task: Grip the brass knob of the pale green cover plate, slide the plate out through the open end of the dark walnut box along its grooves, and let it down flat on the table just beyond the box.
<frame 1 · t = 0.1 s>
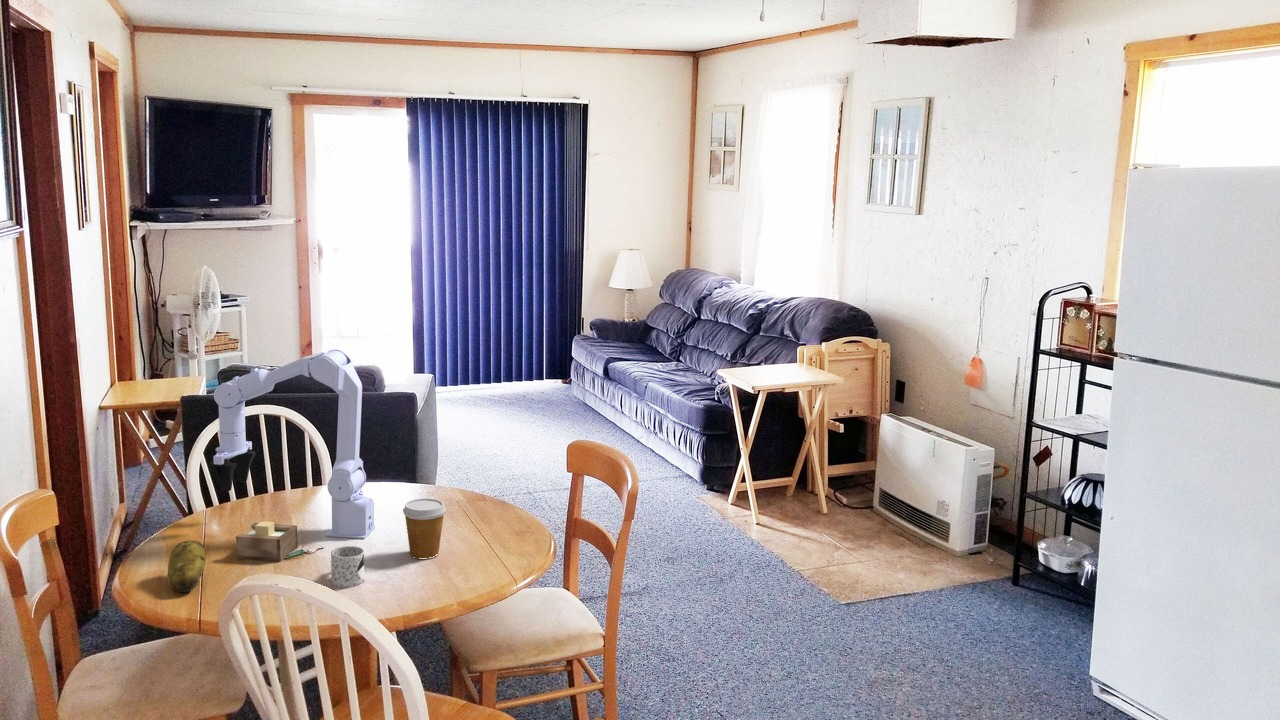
hand: (234, 485, 232), 10 cm above the table, tool pointing down, fingers open, 7 cm apart
potato: (186, 584, 199), on the table
mug: (347, 579, 205), on the table
cover plate: (265, 540, 216), point 3 cm above the table, touching walnut box
walnut box: (267, 552, 217), on the table
disposable coffee cup: (424, 555, 220), on the table
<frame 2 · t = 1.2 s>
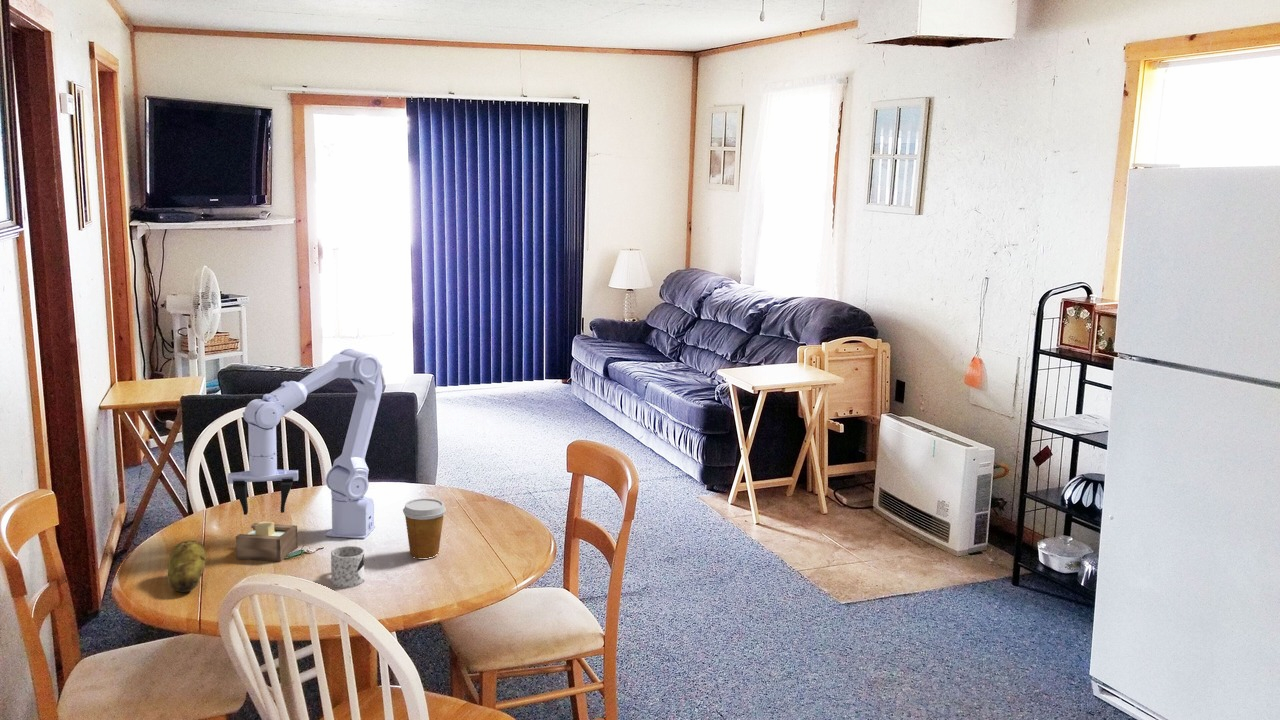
hand: (264, 512, 215), 10 cm above the table, tool pointing down, fingers open, 7 cm apart
nothing on the table moved.
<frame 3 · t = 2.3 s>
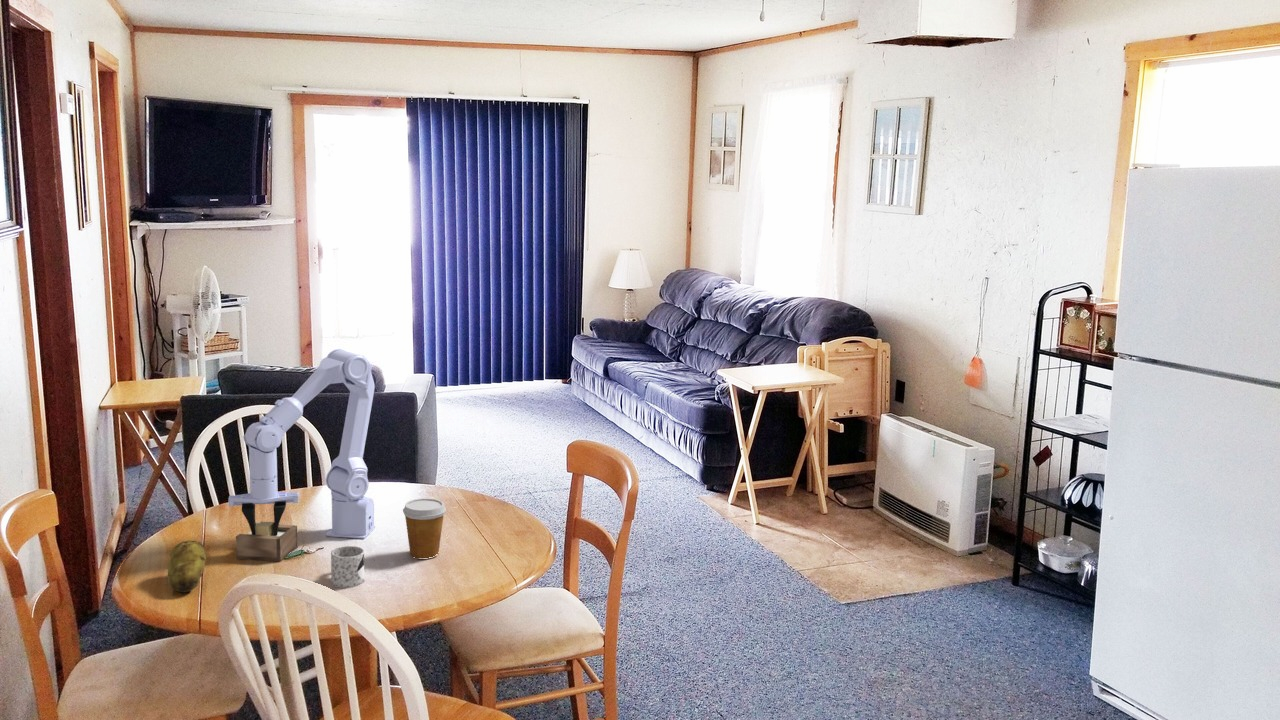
hand: (265, 534, 216), 4 cm above the table, tool pointing down, fingers closed on cover plate, 4 cm apart
cover plate: (265, 540, 216), point 3 cm above the table, touching gripper, walnut box
everything else where it was.
when the fingers open (4 cm above the table, at t = 3.8 s): cover plate stays where it is, resting on walnut box.
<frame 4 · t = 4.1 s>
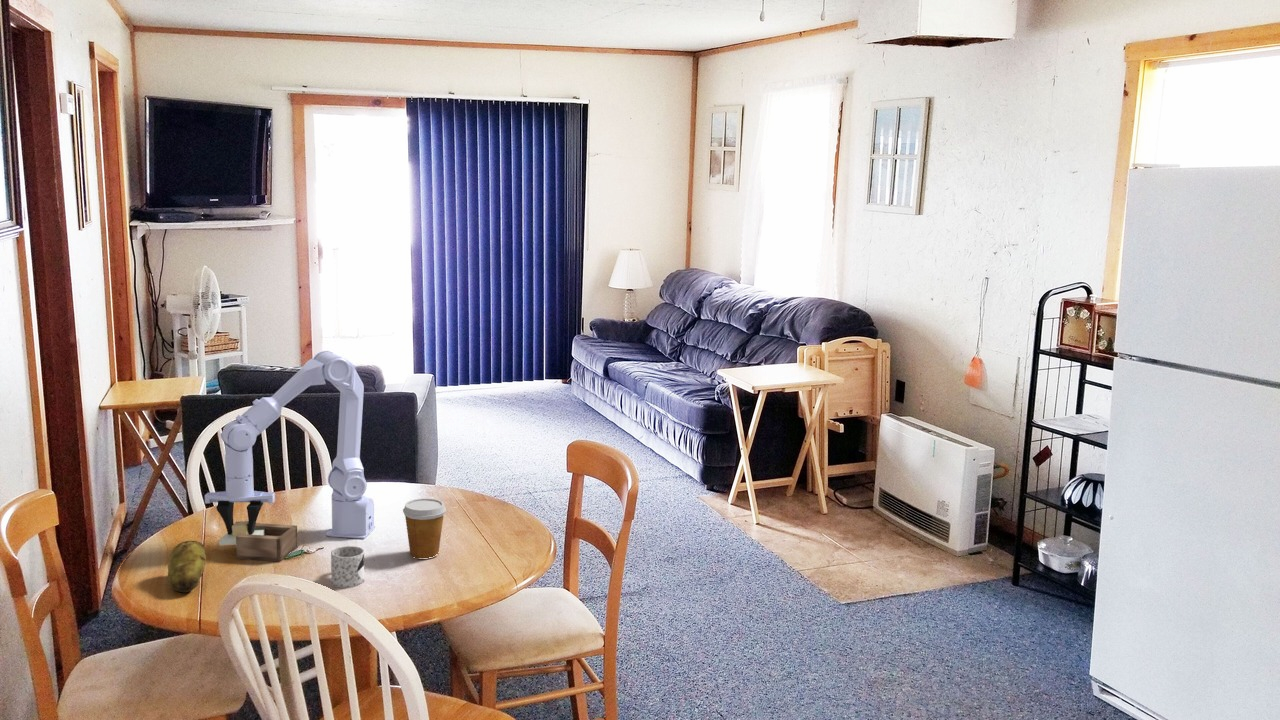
hand: (241, 533, 216), 4 cm above the table, tool pointing down, fingers open, 4 cm apart
cover plate: (242, 539, 216), point 3 cm above the table, touching gripper, walnut box
everything else where it was.
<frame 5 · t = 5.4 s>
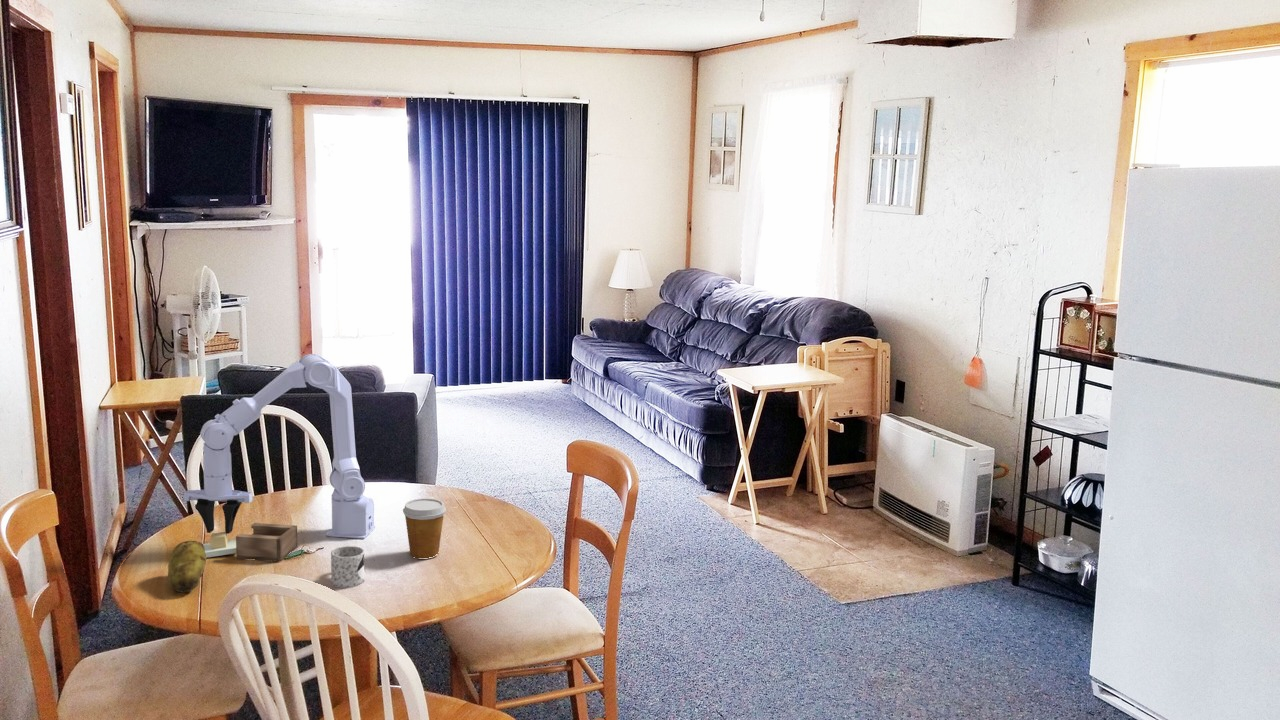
hand: (219, 531, 217), 4 cm above the table, tool pointing down, fingers open, 4 cm apart
cover plate: (220, 550, 216), on the table, tilted 6°, touching gripper
everything else where it was.
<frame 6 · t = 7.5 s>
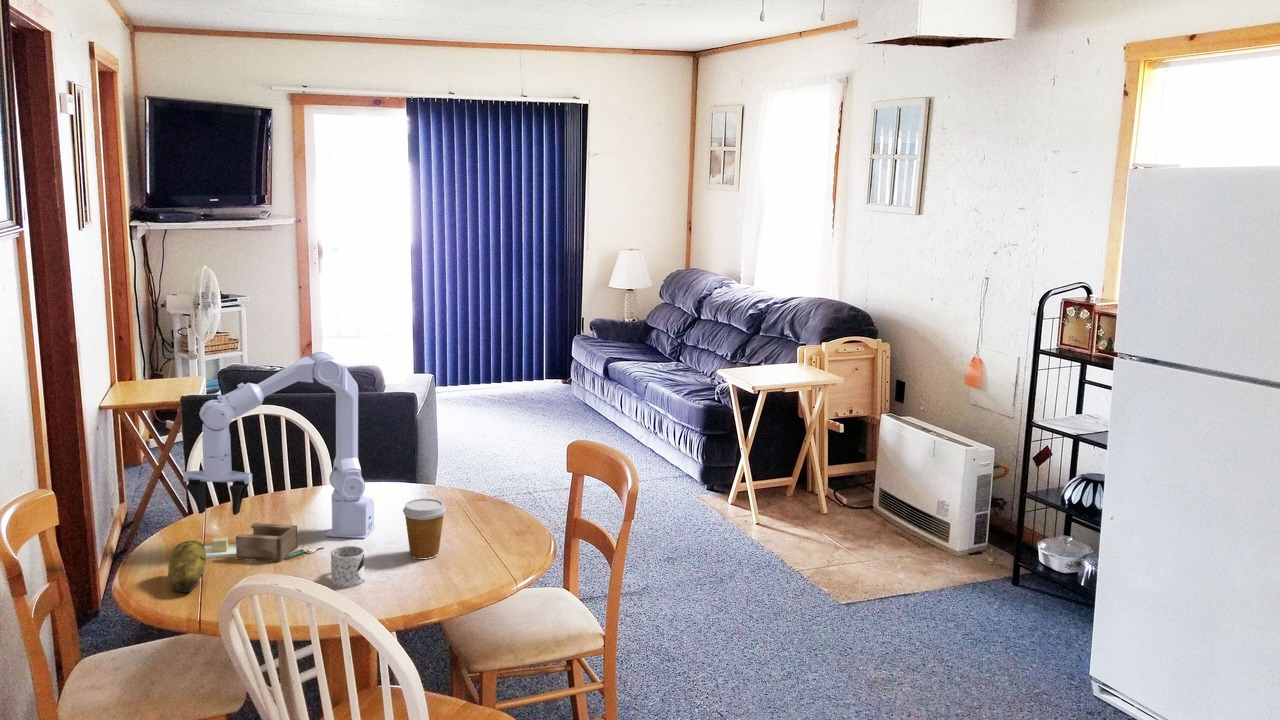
hand: (219, 512, 216), 9 cm above the table, tool pointing down, fingers open, 7 cm apart
cover plate: (220, 554, 216), on the table
everything else where it was.
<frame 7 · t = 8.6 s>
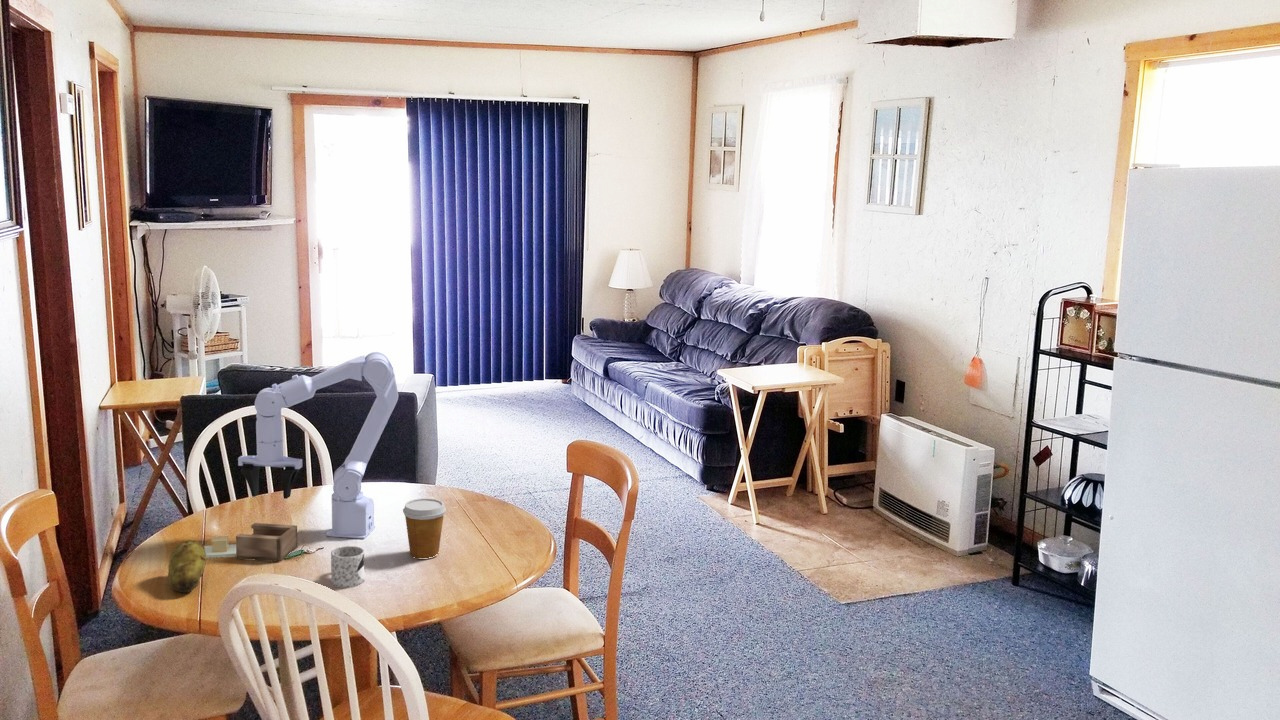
hand: (271, 496, 225), 10 cm above the table, tool pointing down, fingers open, 7 cm apart
nothing on the table moved.
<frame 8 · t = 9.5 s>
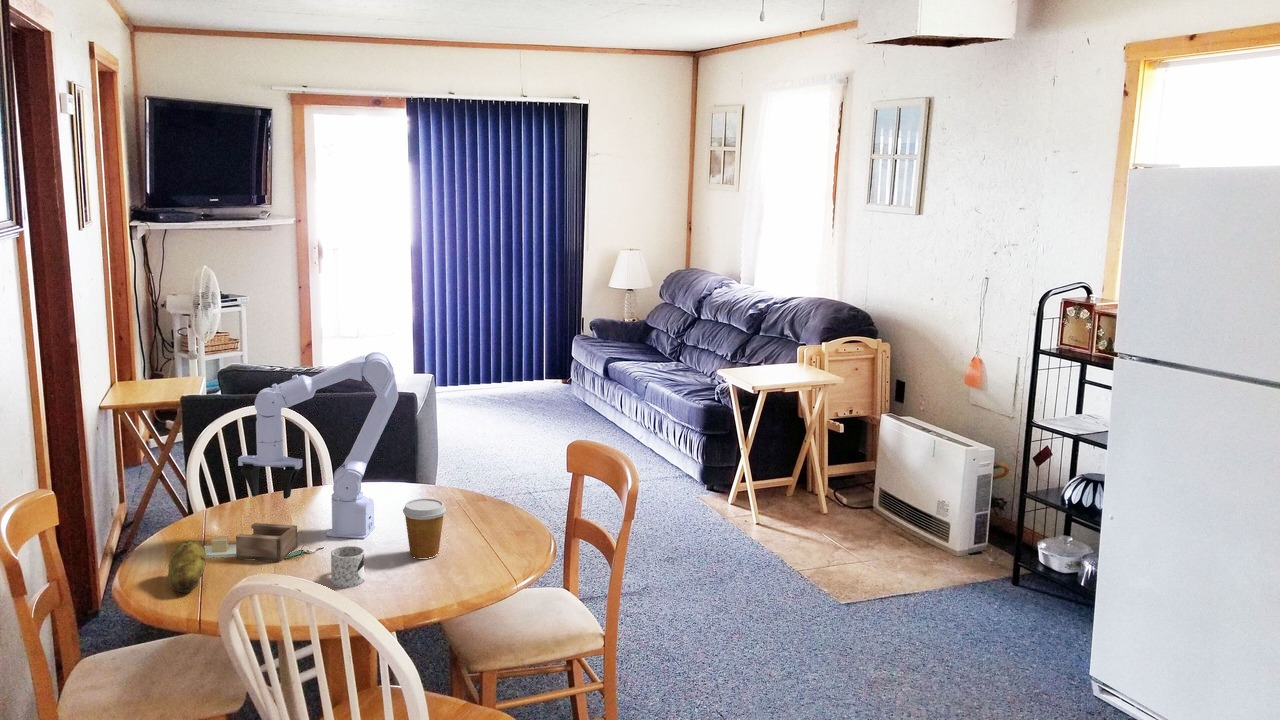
hand: (271, 496, 225), 10 cm above the table, tool pointing down, fingers open, 7 cm apart
nothing on the table moved.
at the end: cover plate inside the target area (3.0 cm from its centre), on the table; cover plate tilted 0°; the gripper is holding nothing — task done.
